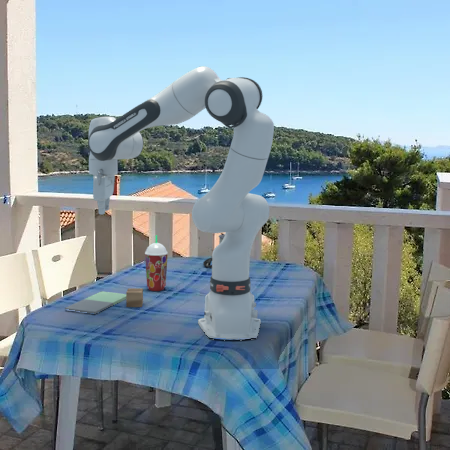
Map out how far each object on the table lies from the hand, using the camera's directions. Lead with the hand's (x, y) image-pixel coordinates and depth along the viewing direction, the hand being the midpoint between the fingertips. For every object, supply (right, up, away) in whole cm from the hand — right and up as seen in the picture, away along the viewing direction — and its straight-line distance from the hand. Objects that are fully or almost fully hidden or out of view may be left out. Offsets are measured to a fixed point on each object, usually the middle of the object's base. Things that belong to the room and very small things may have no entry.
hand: (103, 212), depth 183 cm
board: (-3, -30, +8) cm, 31 cm away
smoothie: (+13, -28, +27) cm, 41 cm away
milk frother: (+37, -23, +63) cm, 76 cm away
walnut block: (+9, -31, +7) cm, 33 cm away
